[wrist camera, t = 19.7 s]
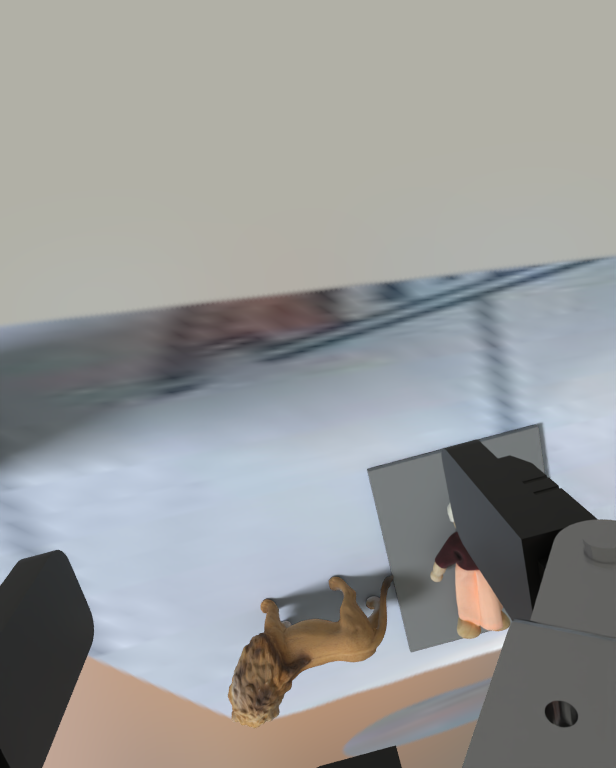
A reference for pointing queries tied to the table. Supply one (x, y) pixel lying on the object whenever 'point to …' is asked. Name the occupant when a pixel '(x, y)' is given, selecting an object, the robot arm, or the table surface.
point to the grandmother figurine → (469, 589)
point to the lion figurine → (301, 651)
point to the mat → (430, 533)
